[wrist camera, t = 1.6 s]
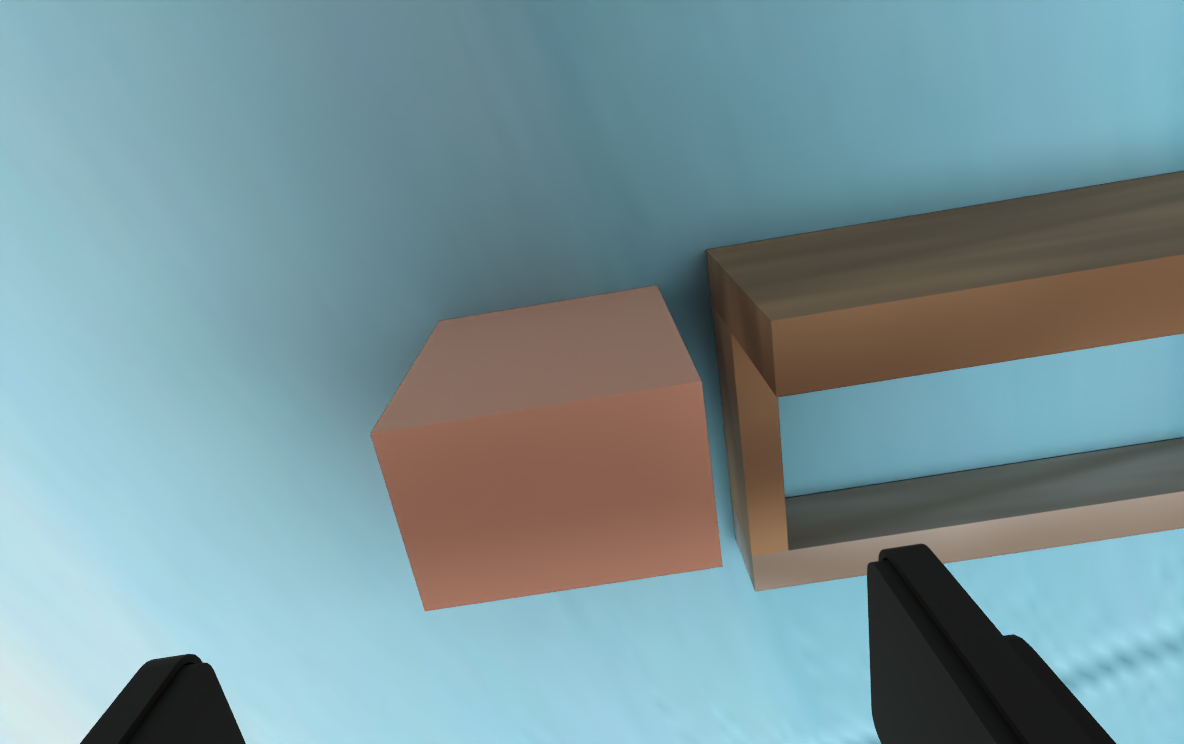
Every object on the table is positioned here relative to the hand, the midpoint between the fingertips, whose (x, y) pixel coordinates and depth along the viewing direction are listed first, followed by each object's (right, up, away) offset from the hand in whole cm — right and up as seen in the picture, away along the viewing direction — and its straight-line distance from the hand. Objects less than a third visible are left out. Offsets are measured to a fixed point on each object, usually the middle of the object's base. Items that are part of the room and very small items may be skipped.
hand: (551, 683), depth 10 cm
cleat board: (+12, +5, +10) cm, 16 cm away
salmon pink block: (0, +4, +10) cm, 11 cm away
